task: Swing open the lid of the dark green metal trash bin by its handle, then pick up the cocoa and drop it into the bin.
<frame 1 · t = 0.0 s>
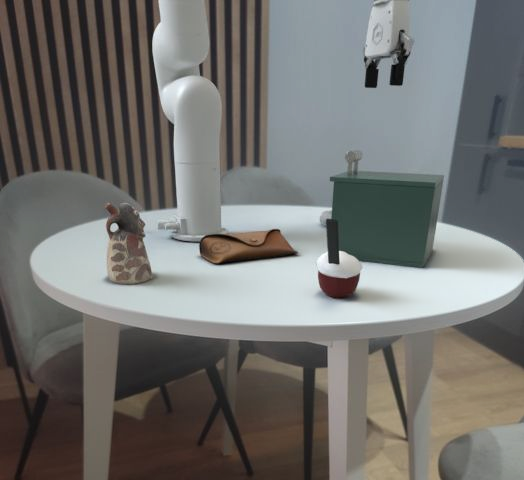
hand: (382, 86, 114), 31 cm above the table, tool pointing down, fingers open, 9 cm apart
sunglasses case: (250, 256, 96), on the table
cocoa: (335, 296, 75), on the table
bin lid: (389, 166, 92), point 16 cm above the table, hinge at 0.0°
figurine: (130, 278, 82), on the table
trash bin: (382, 253, 98), on the table
donut: (338, 226, 124), on the table
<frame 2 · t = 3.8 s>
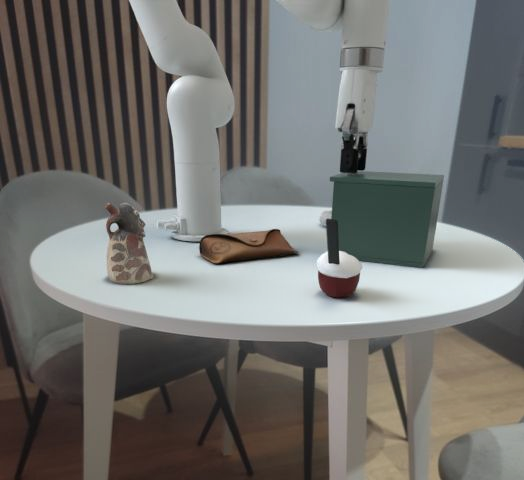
hand: (352, 170, 95), 15 cm above the table, tool pointing down, fingers closed on bin lid, 5 cm apart
bin lid: (389, 166, 92), point 16 cm above the table, hinge at 0.0°, touching gripper
everything else where it was.
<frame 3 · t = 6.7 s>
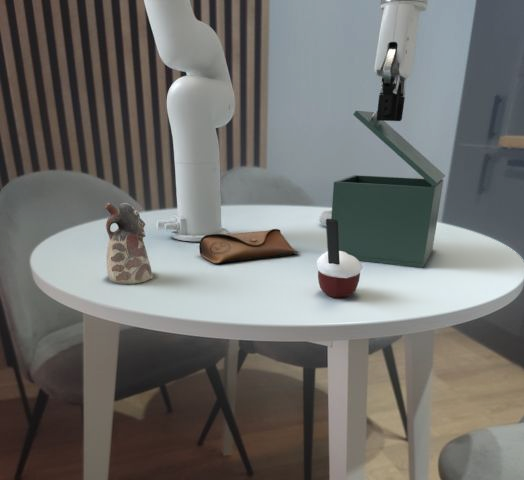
hand: (389, 119, 89), 24 cm above the table, tool pointing down, fingers closed on bin lid, 5 cm apart
bin lid: (410, 136, 88), point 21 cm above the table, hinge at 36.4°, touching gripper
everything else where it was.
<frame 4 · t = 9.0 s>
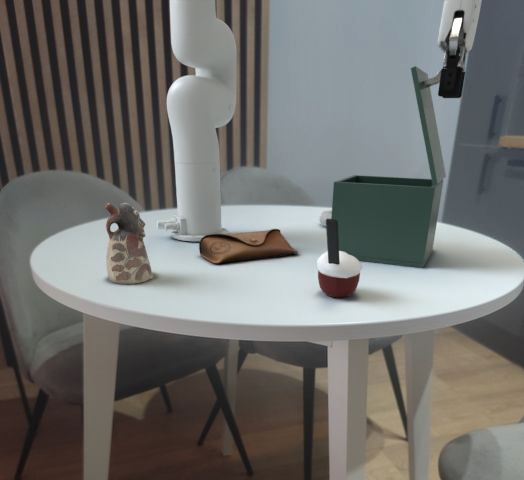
hand: (449, 96, 84), 28 cm above the table, tool pointing down, fingers closed on bin lid, 5 cm apart
bin lid: (442, 123, 86), point 24 cm above the table, hinge at 71.1°, touching gripper
everything else where it was.
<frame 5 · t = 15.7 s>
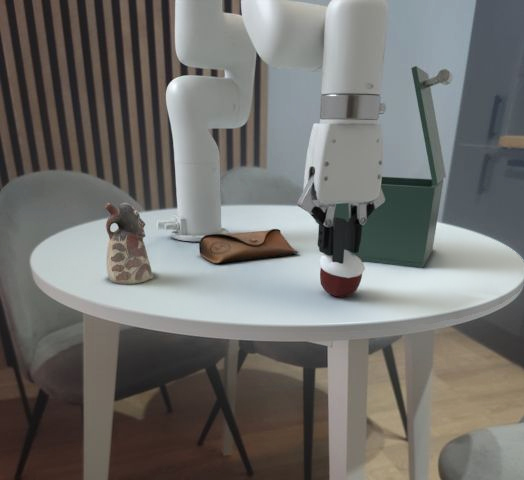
hand: (338, 250, 72), 7 cm above the table, tool pointing down, fingers closed on cocoa, 3 cm apart
cocoa: (335, 294, 75), on the table, touching gripper
bin lid: (442, 123, 86), point 24 cm above the table, hinge at 71.3°
everything else where it was.
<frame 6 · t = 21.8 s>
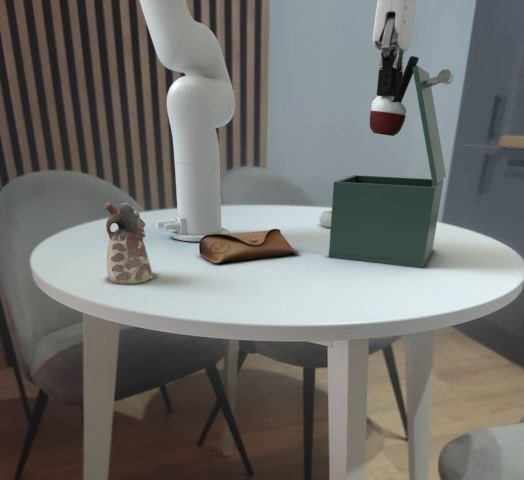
hand: (388, 95, 87), 28 cm above the table, tool pointing down, fingers closed on cocoa, 3 cm apart
cocoa: (384, 136, 90), point 21 cm above the table, touching gripper
bin lid: (443, 123, 86), point 24 cm above the table, hinge at 71.9°
everything else where it was.
when the fingers open (19 cm above the table, at t = 24.5 s): cocoa drops 11 cm, resting on trash bin.
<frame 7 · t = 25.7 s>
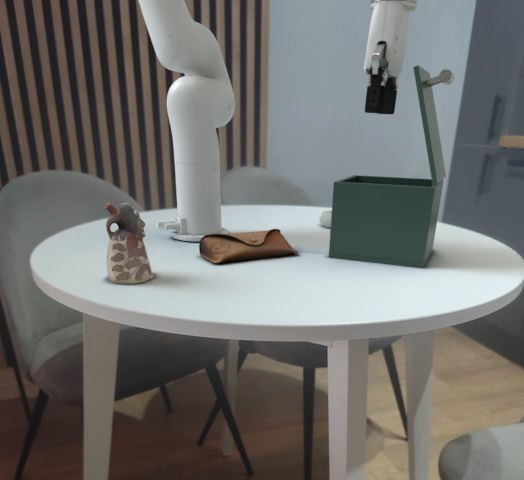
hand: (379, 113, 89), 25 cm above the table, tool pointing down, fingers open, 9 cm apart
cocoa: (371, 249, 99), point 1 cm above the table, touching trash bin
bin lid: (443, 123, 86), point 24 cm above the table, hinge at 72.3°
everything else where it was.
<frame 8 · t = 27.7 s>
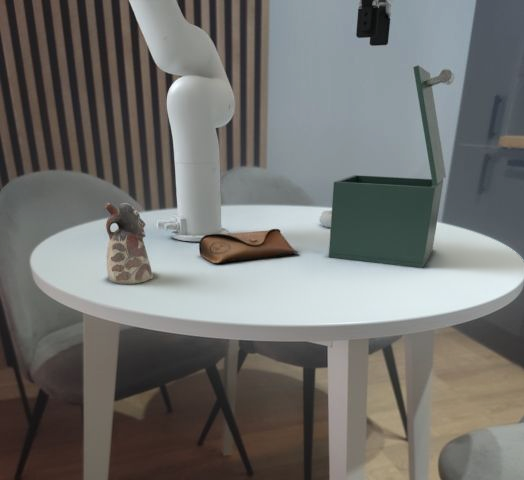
hand: (372, 41, 85), 36 cm above the table, tool pointing down, fingers open, 9 cm apart
nothing on the table moved.
at the end: bin lid at +72° (first picture: +0°); cocoa inside the target area in the trash bin (2.2 cm from its centre), point 0.6 cm above the trash bin's base; the gripper is holding nothing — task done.
